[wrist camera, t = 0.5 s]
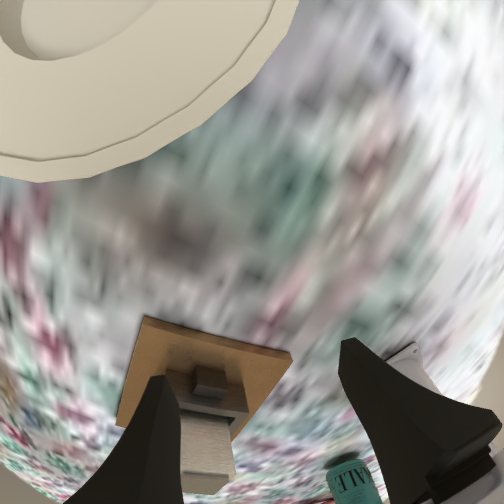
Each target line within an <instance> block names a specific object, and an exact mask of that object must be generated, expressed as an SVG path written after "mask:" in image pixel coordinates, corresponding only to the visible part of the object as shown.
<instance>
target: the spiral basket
mask: <svg viewBox="0 0 504 504" xmlns="http://www.w3.org/2000/svg"><path fill="white" fill-rule="evenodd" d="M333 503H335V501H334V499H332V500H329V501H326V502H323V503H321V504H333Z"/></svg>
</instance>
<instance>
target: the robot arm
mask: <svg viewBox="0 0 504 504" xmlns="http://www.w3.org/2000/svg"><path fill="white" fill-rule="evenodd" d="M338 375H339V377H340V380H341V383H342V386H343V388H344V391H345V393H346V395H347V397H348V399H349V401H350V403H351V405H352V407H353V408H354V410H355V412H356V414H357V416H358V418H359V420H360V421H361V423H362V425H363V427H364V429H365V431H366V433H367V435H368V437H369V439H370V442H371V444H372V447H373V449H374V452H375V455H376V457H377V460H378V463H379V466H380V469H381V472H382V475H383V478H384V482H385V485H386V488H387V492H388V496H389V500H390V504H504V448H503V449H502V450H500V451H499V452H498V450H497V448H496V447H495V445H494V443H493V442H492V440H493V439H494V438H495V437H496V435H497V434H498V433H499V431H500V430H501V428H502V423H501V422H500V420H499V419H498V418H497V416H496V415H495V414H494V412H493V411H492V410H489V409H484V408H480V407H475V406H471V405H468V404H464V403H461V402H458V401H455V400H452V399H450V398H447V397H445V396H443V395H442V394H441V393H440V391H439V390H438V388H437V387H436V386H435V384H434V383H433V382H432V380H431V379H430V378H429V376H428V375H427V373H426V372H425V371H424V369H423V366H422V361H421V356H420V351H419V346H418V344H417V343H413V344H411V345H410V346H408V347H407V348H405V349H404V350H402V351H401V352H399V353H398V354H396V355H395V356H393V357H392V358H390V359H389V360H387V361H386V362H385V361H384V360H383V359H381V358H380V357H379V356H377V355H376V354H375V353H374V352H372V351H371V350H370V349H369V348H367V347H366V346H365V345H364V344H363V343H361V342H360V341H359V340H358V339H356V338H355V337H354V338H350V339H346V340H343V341H341V349H340V359H339V369H338ZM180 454H181V419H180V409H179V403H178V401H177V399H176V397H175V395H174V392H173V390H172V388H171V386H170V384H169V381H168V379H167V377H166V375H157V376H151V377H150V378H149V381H148V383H147V385H146V388H145V390H144V392H143V395H142V397H141V399H140V401H139V404H138V406H137V408H136V410H135V412H134V414H133V416H132V418H131V420H130V422H129V424H128V425H127V427H126V429H125V431H124V433H123V434H122V436H121V438H120V439H119V441H118V443H117V444H116V446H115V447H114V449H113V450H112V452H111V453H110V455H109V456H108V457H107V459H106V460H105V461H104V463H103V464H102V465H101V466H100V468H99V469H98V470H97V471H96V472H95V474H94V475H93V476H92V477H91V478H90V479H89V480H88V481H87V482H86V483H85V484H84V485H83V486H82V487H81V488H80V489H79V490H78V491H77V492H76V493H75V494H73V495H72V496H71V497H70V498H69V499H68V500H66V501H65V502H64V503H63V504H184V501H183V494H182V486H181V476H180Z"/></svg>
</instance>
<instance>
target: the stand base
mask: <svg viewBox="0 0 504 504" xmlns="http://www.w3.org/2000/svg"><path fill="white" fill-rule="evenodd" d="M292 362H293V360H292V357H291V355H290V353H288V352H283V351H278V350H273V349H269V348H264V347H260V346H255V345H251V344H247V343H243V342H238V341H234V340H230V339H226V338H222V337H218V336H214V335H210V334H207V333H203V332H199V331H195V330H192V329H188V328H185V327H181V326H178V325H174V324H171V323H167V322H164V321H160V320H157V319H154V318H151V317H147V316H144V319H143V322H142V326H141V329H140V332H139V335H138V339H137V342H136V346H135V349H134V352H133V356H132V359H131V363H130V367H129V370H128V374H127V378H126V381H125V385H124V389H123V393H122V397H121V401H120V405H119V409H118V413H117V417H116V424H115V425H116V426H120V427H124V428H126V427H127V425H128V424H129V422H130V420H131V418H132V416H133V414H134V412H135V410H136V408H137V406H138V404H139V401H140V399H141V397H142V395H143V392H144V390H145V388H146V385H147V383H148V381H149V378H150V377H151V376H157V375H166V377H167V379H168V381H169V384H170V386H171V388H172V390H173V392H174V395H175V397H176V399H177V401H178V403H179V408H182V409H187V410H192V411H197V412H203V413H209V414H215V415H221V416H227V419H228V426H229V433H230V439H231V442H232V441H233V440H234V438H235V437H236V436H237V435H238V434H239V432H240V431H241V430H242V429H243V427H244V426H245V425H246V424H247V422H248V421H249V420H250V419H251V417H252V416H253V415H254V413H255V412H256V411H257V410H258V408H259V407H260V406H261V404H262V403H263V402H264V400H265V399H266V398H267V396H268V395H269V394H270V392H271V391H272V390H273V388H274V387H275V386H276V384H277V383H278V381H279V380H280V379H281V377H282V376H283V375H284V373H285V372H286V370H287V369H288V368H289V366H290V365H291V363H292Z"/></svg>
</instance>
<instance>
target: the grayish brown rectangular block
mask: <svg viewBox="0 0 504 504" xmlns="http://www.w3.org/2000/svg"><path fill="white" fill-rule="evenodd" d="M179 409H180V419H181V454H180V476H181V486H182V492H184V493H194V494H206V495H214V494H216V493H217V492H218V491H219V490H220V489H221V488H222V487H223V486H224V485H226V484H227V483H228V482H229V481H230V480H231V479H232V478H233V477H234V476H235V475H236V470H235V464H234V458H233V452H232V446H231V439H230V433H229V426H228V419H227V416H221V415H215V414H209V413H203V412H197V411H192V410H187V409H182V408H179Z"/></svg>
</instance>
